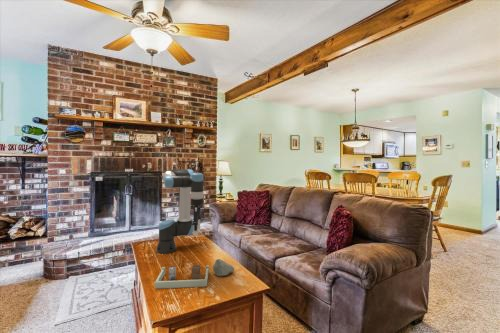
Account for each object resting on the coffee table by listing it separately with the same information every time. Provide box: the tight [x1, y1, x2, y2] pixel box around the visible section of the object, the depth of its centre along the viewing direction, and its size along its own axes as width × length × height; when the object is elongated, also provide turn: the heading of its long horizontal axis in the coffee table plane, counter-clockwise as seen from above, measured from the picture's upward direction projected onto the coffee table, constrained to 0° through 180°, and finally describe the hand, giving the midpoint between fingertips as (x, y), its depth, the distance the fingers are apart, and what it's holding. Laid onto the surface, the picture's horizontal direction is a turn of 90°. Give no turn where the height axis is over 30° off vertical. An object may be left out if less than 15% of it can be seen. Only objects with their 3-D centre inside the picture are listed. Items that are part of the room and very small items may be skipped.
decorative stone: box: [212, 258, 235, 277], centre depth 157 cm, size 13×11×10 cm
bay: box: [154, 264, 210, 290], centre depth 148 cm, size 18×29×4 cm, turn 97°
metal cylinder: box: [168, 265, 177, 281], centre depth 149 cm, size 4×4×7 cm
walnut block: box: [191, 264, 201, 280], centre depth 151 cm, size 4×4×7 cm
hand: (196, 232), depth 153 cm, fingers open, 13 cm apart
